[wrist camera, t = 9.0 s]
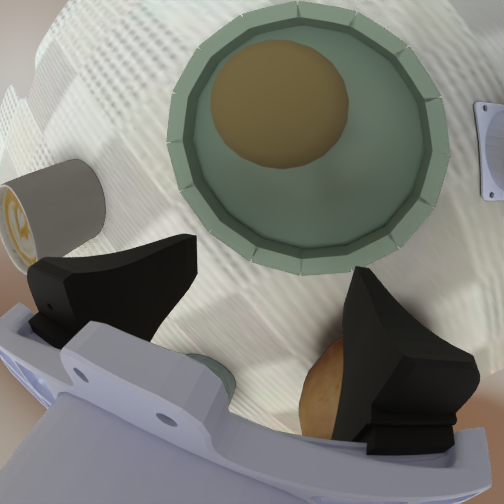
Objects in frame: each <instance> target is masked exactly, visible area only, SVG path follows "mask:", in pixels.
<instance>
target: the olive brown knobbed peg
mask: <svg viewBox="0 0 504 504" xmlns="http://www.w3.org/2000/svg"><path fill="white" fill-rule="evenodd" d="M348 109H349V98H348V94H347V90H346V86H345V83H344V80H343V78H342V77H341V75H340V74H339V72H338V71H337V69H336V68H335V66H334V65H333V63H332V62H331V61H330V60H328V59H327V58H326V57H324V56H323V55H322V54H320V53H319V52H318V51H316V50H315V49H313V48H311V47H309V46H306V45H303V44H300V43H297V42H294V41H291V40H265V41H261V42H258V43H254V44H251V45H248V46H246V47H245V48H243V49H241V50H240V51H238V52H237V53H235V54H234V55H232V56H231V57H230V58H229V59H228V60H227V62H226V63H225V64H224V65H223V66H222V68H221V69H220V70H219V71H218V73H217V76H216V78H215V81H214V84H213V86H212V89H211V99H210V111H211V115H212V119H213V123H214V126H215V129H216V130H217V132H218V133H219V135H220V137H221V138H222V140H223V141H224V143H225V144H226V145H227V146H228V147H229V148H230V149H232V150H233V151H234V152H235V153H236V154H237V155H239V156H240V157H241V158H243V159H246V160H248V161H250V162H253V163H255V164H257V165H259V166H262V167H268V168H276V169H289V168H294V167H300V166H305V165H307V164H309V163H311V162H313V161H315V160H317V159H319V158H321V157H323V156H324V155H325V154H326V153H327V152H328V151H329V150H330V149H331V148H332V147H333V146H334V145H335V144H336V143H337V142H338V140H339V139H340V136H341V134H342V132H343V130H344V128H345V126H346V124H347V120H348Z"/></svg>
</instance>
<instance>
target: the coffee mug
mask: <svg viewBox="0 0 504 504" xmlns="http://www.w3.org/2000/svg"><path fill="white" fill-rule="evenodd" d="M105 214H106V212H105V199H104V194H103V190H102V187H101V185H100V182H99V180H98V178H97V176H96V175H95V173H94V171H93V170H92V169H91V168H90V167H89V166H88V165H87V164H86V163H85V162H83V161H81V160H77V159H73V160H69V161H66V162H62V163H59V164H56V165H53V166H50V167H47V168H44V169H41V170H38V171H35V172H32V173H29V174H27V175H24V176H21V177H19V178H16V179H13V180H11V181H8V182H6V183H4V184H2V185H1V186H0V236H1V239H2V242H3V244H4V247H5V249H6V251H7V253H8V255H9V257H10V258H11V260H12V261H13V263H14V264H15V266H16V267H17V268H18V269H19V271H21V272H22V273H23V274H24V275H26V276H27V270H28V268H29V266H31V265H32V264H34V263H35V262H37V261H38V260H40V259H41V258H43V257H63V256H65V255H66V254H68V253H69V252H71V251H72V250H74V249H76V248H77V247H79V246H80V245H82V244H83V243H85V242H87V241H88V240H90V239H92V238H93V237H95V236H96V235H98V233H99V232H100V231H101V229H102V227H103V225H104V221H105Z"/></svg>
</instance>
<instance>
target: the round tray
mask: <svg viewBox="0 0 504 504" xmlns="http://www.w3.org/2000/svg"><path fill="white" fill-rule="evenodd" d="M355 14H356V11H353V10H348V9H344V8H339V7H334V6H328V5H323V4H316V3H309V2H302V1H299V2H298V5H297V2H296V1H295V2H289V3H284V4H280V5H275V6H271V7H266V8H262V9H259V10H255V11H251V12H248V13H244V14H242V15H243V17H241V16H238V17H237V18H235V19H234V20H232V21H231V22H230V23H228V24H227V25H225V26H224V27H223V28H221V29H220V30H219V31H217V32H216V33H215V34H213V35H212V36H211V37H210V38H208V39H207V40H206V41H205V42H203V43H202V44H201V45H200V46H199V48H200V49H201V50H200V49H198V48H197V49H196V51H195V52H194V54H193V56H192V57H191V59H190V61H189V63H188V64H187V66H186V68H185V70H184V71H183V73H182V75H181V77H180V79H179V80H178V82H177V84H176V86H175V88H174V90H173V92H175V93H177V94H172V97H171V105H170V113H169V122H168V131H167V142H170V143H168V144H167V147H168V151H169V155H170V158H171V162H172V166H173V170H174V173H175V177H176V181H177V184H178V188H179V190H182V189H183V190H182V191H181V192H180V193H181V194H182V196H183V197H184V198H185V200H186V201H187V203H188V204H189V205H190V207H191V208H192V210H193V211H194V212H195V214H196V215H197V217H198V218H199V219H200V221H201V222H202V224H203V225H204V226H205V228H206V229H207V231H210V230H211V229H212V230H211V232H210V234H212V235H213V236H215V237H216V238H217V239H219V240H220V241H222V242H223V243H224V244H226V245H227V246H229V247H230V248H232V249H233V250H234V251H236V252H237V253H239V254H240V255H242V256H243V257H244V258H246V259H247V260H249V261H250V260H251V259H252V262H253V263H256V264H260V265H263V266H267V267H271V268H274V269H278V270H281V271H285V272H288V273H292V274H296V275H300V271H301V276H305V275H319V274H332V273H344V272H351V268H352V270H353V271H354V269H355V266H360V267H364V266H366V265H368V264H370V263H372V262H374V261H376V260H378V259H380V258H382V257H384V256H386V255H388V254H390V253H392V252H394V251H396V250H398V247H397V245H398V246H399V247H400V248H401V247H402V246H403V244H404V243H405V242H406V241H407V240H408V239H409V238H410V237H411V235H412V234H413V233H414V232H415V231H416V230H417V229H418V227H419V226H420V225H421V224H422V223H423V222H424V220H425V219H426V218H427V217H428V216H429V214H430V213H431V212H432V211H433V210H434V209H433V208H432V207H431V206H433V207H435V205H436V203H437V199H438V196H439V193H440V190H441V187H442V183H443V180H444V177H445V173H446V169H447V166H448V162H449V158H450V156H449V155H447V154H450V147H449V138H448V130H447V123H446V117H445V111H444V106H443V101H442V98H438V97H440V96H441V95H440V93H439V91H438V89H437V88H436V86H435V84H434V83H433V81H432V79H431V78H430V76H429V75H428V73H427V71H426V70H425V68H424V67H423V65H422V64H421V62H420V61H419V59H418V58H417V56H416V55H415V54H414V52H413V51H412V49H411V48H410V47H408V48H406V46H407V44H406V43H404V42H403V41H402V40H400V39H399V38H398V37H396V36H395V35H393V34H392V33H390V32H389V31H388V30H386V29H385V28H383V27H382V26H380V25H378V24H377V23H375V22H374V21H372V20H370V19H369V18H367V17H366V16H364V15H362V14H360V13H359V12H358V13H357V15H356V16H355ZM265 40H291V41H294V42H297V43H300V44H303V45H306V46H309V47H311V48H313V49H315V50H316V51H318V52H319V53H320V54H322V55H323V56H324V57H326V58H327V59H328V60H330V61H331V62H332V63H333V65H334V66H335V68H336V69H337V71H338V72H339V74H340V75H341V77H342V78H343V80H344V83H345V86H346V90H347V94H348V98H349V109H348V120H347V124H346V126H345V128H344V130H343V132H342V134H341V136H340V139H339V140H338V142H337V143H336V144H335V145H334V146H333V147H332V148H331V149H330V150H329V151H328V152H327V153H326V154H325V155H324V156H323V157H321V158H319V159H317V160H315V161H313V162H311V163H309V164H307V165H305V166H300V167H294V168H289V169H276V168H268V167H262V166H259V165H257V164H255V163H253V162H250V161H248V160H246V159H243V158H241V157H240V156H239V155H237V154H236V153H235V152H234V151H233V150H232V149H230V148H229V147H228V146H227V145H226V144H225V143H224V141H223V140H222V138H221V137H220V135H219V133H218V132H217V130H216V129H215V126H214V123H213V119H212V115H211V111H210V99H211V89H212V86H213V84H214V81H215V78H216V76H217V73H218V71H219V70H220V69H221V68H222V66H223V65H224V64H225V63H226V62H227V60H228V59H229V58H230V57H231V56H232V55H234V54H235V53H237V52H238V51H240V50H241V49H243V48H245V47H246V46H248V45H251V44H254V43H258V42H261V41H265ZM405 48H406V49H405ZM430 205H431V206H430ZM252 257H253V258H252Z"/></svg>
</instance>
